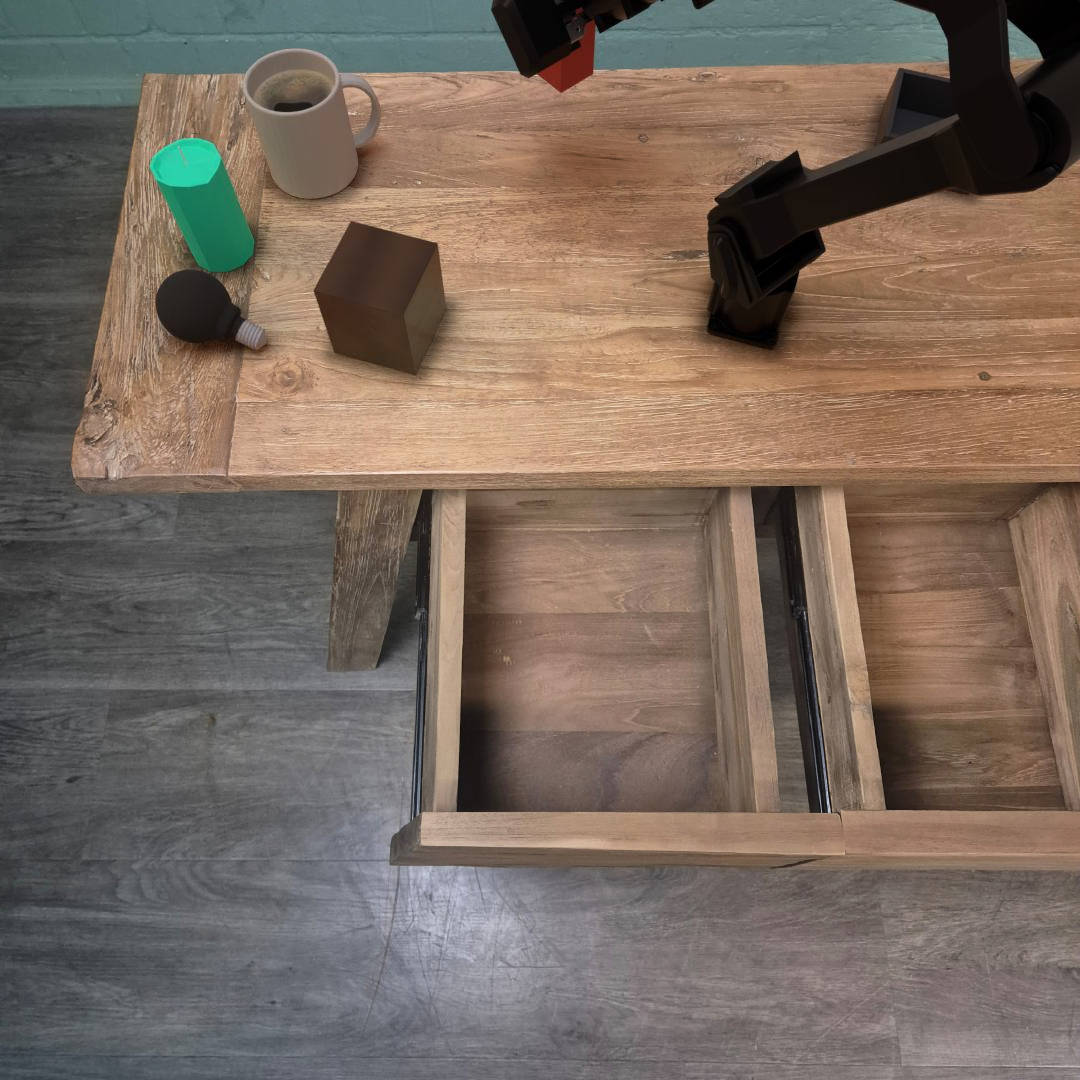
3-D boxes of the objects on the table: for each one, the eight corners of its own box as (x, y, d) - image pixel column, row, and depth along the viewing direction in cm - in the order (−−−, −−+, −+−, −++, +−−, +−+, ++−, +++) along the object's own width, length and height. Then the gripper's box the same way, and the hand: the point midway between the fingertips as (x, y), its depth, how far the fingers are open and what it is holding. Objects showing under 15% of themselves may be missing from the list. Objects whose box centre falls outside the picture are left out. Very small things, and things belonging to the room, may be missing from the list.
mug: (258, 190, 89) (227, 104, 80) (291, 125, 93) (265, 35, 84) (361, 210, 88) (341, 126, 79) (390, 143, 92) (375, 55, 83)
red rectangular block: (593, 74, 83) (600, -60, 72) (561, 93, 81) (563, -40, 71) (558, 47, 84) (560, -88, 73) (526, 65, 83) (523, -68, 72)
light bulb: (257, 343, 76) (143, 286, 74) (246, 387, 81) (139, 335, 79) (287, 297, 80) (180, 241, 78) (275, 342, 85) (173, 291, 83)
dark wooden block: (446, 308, 83) (438, 243, 75) (415, 375, 80) (403, 314, 72) (367, 286, 84) (350, 220, 76) (333, 352, 81) (313, 290, 73)
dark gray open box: (979, 126, 94) (1000, 89, 89) (968, 195, 90) (989, 159, 85) (883, 104, 95) (899, 67, 91) (867, 171, 91) (883, 135, 87)
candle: (196, 278, 84) (146, 179, 73) (189, 231, 87) (139, 129, 76) (259, 265, 85) (218, 165, 74) (250, 219, 87) (210, 116, 76)
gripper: (698, -211, 65) (590, -117, 79) (502, -114, 60) (422, -31, 74) (751, -50, 70) (640, 13, 83) (573, 53, 65) (486, 102, 78)
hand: (551, 21), depth 80 cm, fingers closed on red rectangular block, 4 cm apart
